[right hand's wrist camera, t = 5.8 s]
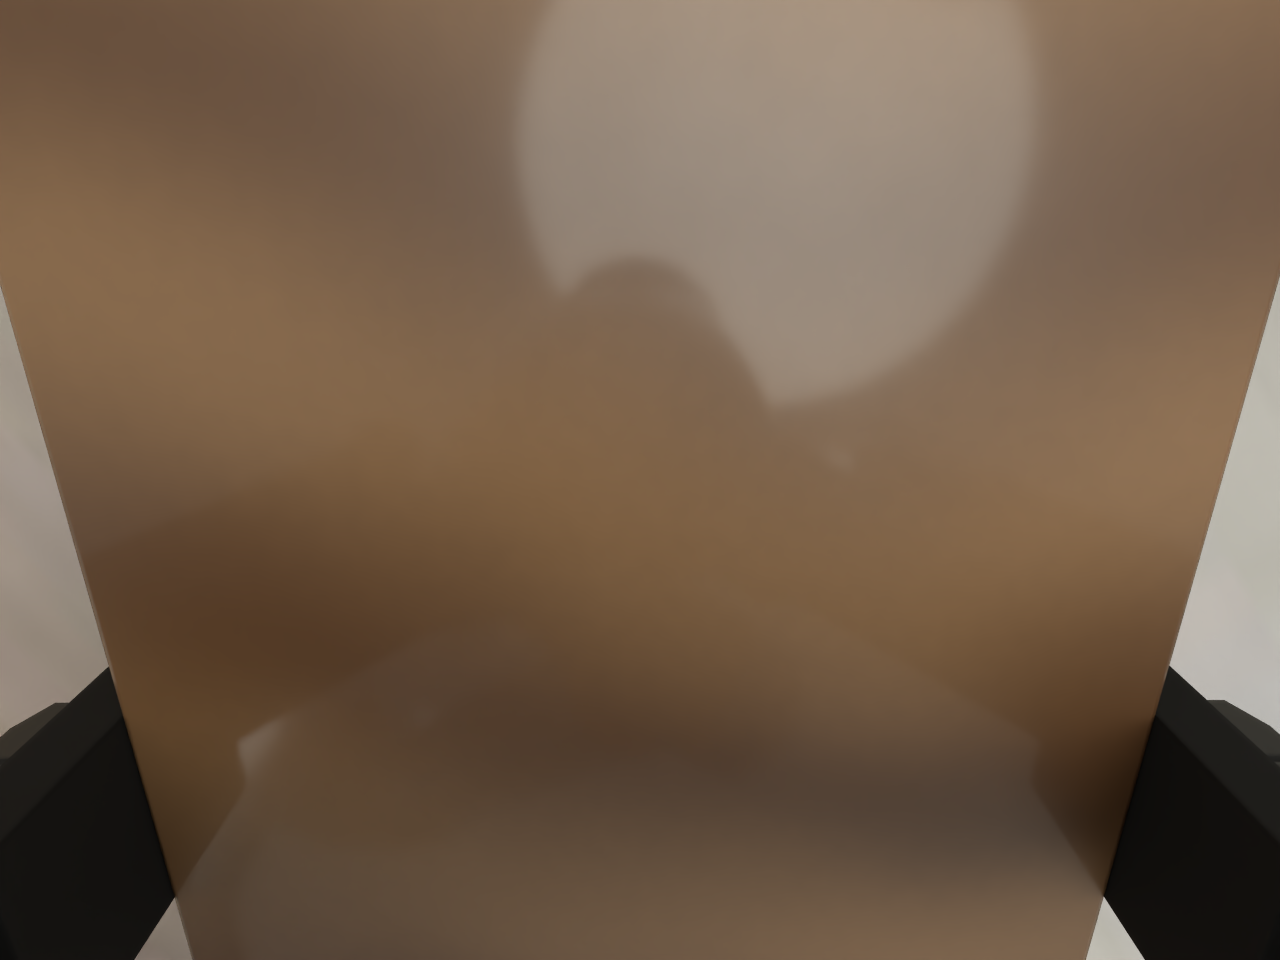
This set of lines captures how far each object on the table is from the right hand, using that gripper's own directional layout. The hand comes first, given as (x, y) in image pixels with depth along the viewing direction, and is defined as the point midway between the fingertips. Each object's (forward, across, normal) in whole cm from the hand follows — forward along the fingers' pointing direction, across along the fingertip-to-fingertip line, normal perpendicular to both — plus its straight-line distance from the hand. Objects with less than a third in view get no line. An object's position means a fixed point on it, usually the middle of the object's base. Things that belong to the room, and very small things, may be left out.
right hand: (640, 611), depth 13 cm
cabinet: (+5, 0, -7) cm, 9 cm away
